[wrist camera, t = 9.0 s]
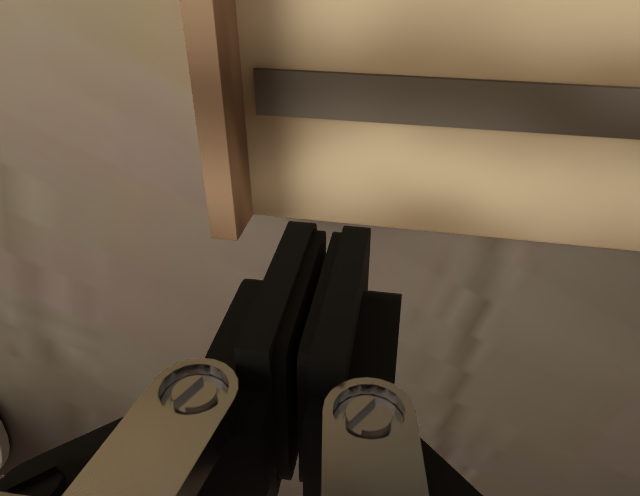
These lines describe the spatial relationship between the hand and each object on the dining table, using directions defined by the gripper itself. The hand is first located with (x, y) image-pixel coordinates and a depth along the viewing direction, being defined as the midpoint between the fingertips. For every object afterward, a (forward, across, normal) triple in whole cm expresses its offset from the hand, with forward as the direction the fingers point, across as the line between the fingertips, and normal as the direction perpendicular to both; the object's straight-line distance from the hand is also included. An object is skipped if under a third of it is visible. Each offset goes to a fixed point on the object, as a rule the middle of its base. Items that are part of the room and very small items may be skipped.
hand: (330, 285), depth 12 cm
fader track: (+11, -6, -1) cm, 13 cm away
